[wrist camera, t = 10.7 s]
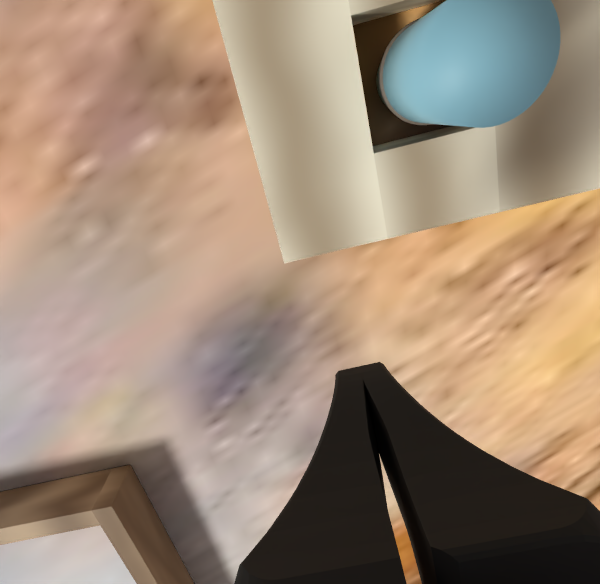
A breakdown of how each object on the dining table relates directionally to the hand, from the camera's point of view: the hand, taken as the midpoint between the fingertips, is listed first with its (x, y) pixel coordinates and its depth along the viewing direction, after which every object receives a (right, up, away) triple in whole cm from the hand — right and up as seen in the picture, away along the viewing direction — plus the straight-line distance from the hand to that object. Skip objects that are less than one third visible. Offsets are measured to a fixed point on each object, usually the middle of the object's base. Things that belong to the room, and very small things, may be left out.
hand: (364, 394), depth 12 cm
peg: (+3, +12, +6) cm, 14 cm away
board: (+3, +12, +6) cm, 14 cm away
